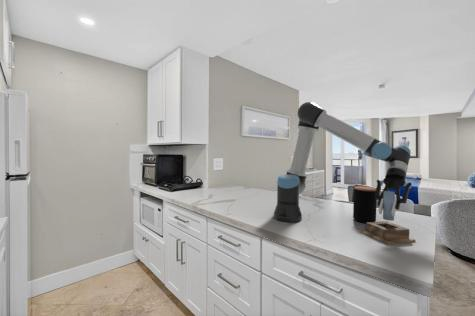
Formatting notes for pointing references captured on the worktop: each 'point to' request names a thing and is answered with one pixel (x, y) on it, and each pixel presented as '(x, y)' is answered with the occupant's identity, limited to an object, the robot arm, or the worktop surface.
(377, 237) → the socket block
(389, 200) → the dowel
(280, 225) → the worktop surface
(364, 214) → the coffee jar
